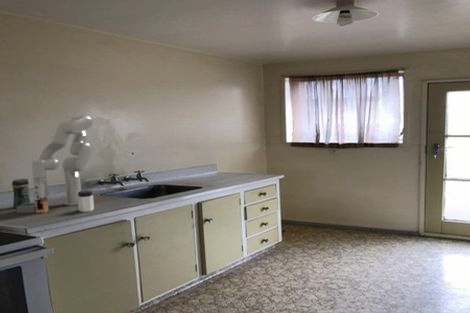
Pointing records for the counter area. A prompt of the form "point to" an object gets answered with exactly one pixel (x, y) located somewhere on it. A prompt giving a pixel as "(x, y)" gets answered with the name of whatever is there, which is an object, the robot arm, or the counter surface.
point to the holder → (27, 208)
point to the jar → (85, 201)
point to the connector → (45, 205)
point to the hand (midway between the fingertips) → (42, 208)
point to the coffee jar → (20, 192)
